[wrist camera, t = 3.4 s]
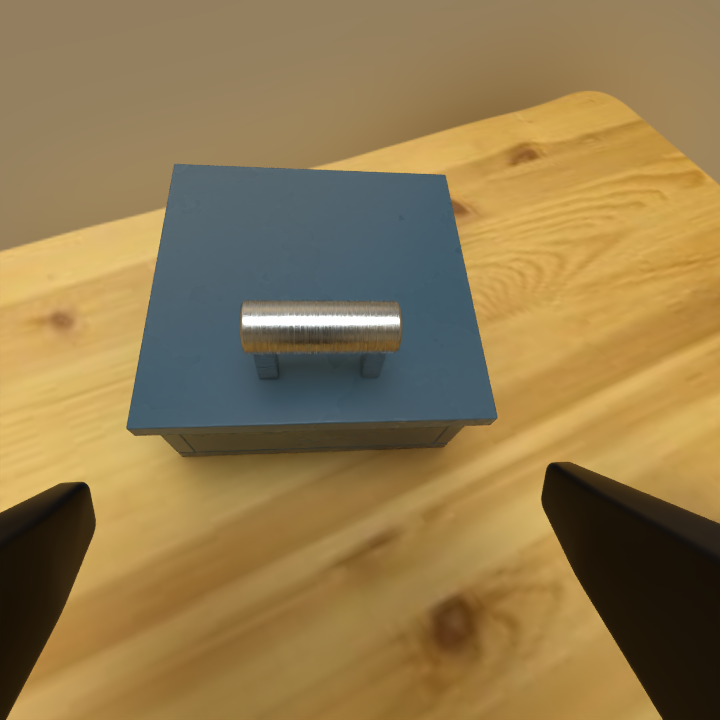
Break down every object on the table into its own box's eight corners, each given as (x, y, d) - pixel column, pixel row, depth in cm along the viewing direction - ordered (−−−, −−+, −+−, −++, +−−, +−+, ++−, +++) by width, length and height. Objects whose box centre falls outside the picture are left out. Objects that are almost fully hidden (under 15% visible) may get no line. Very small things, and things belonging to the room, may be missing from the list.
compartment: (444, 447, 22) (485, 406, 17) (181, 457, 20) (138, 414, 15) (416, 263, 27) (441, 188, 22) (205, 260, 26) (178, 178, 20)
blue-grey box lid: (490, 425, 16) (550, 373, 12) (134, 436, 15) (67, 380, 11) (441, 187, 22) (471, 97, 18) (178, 177, 20) (145, 76, 16)
